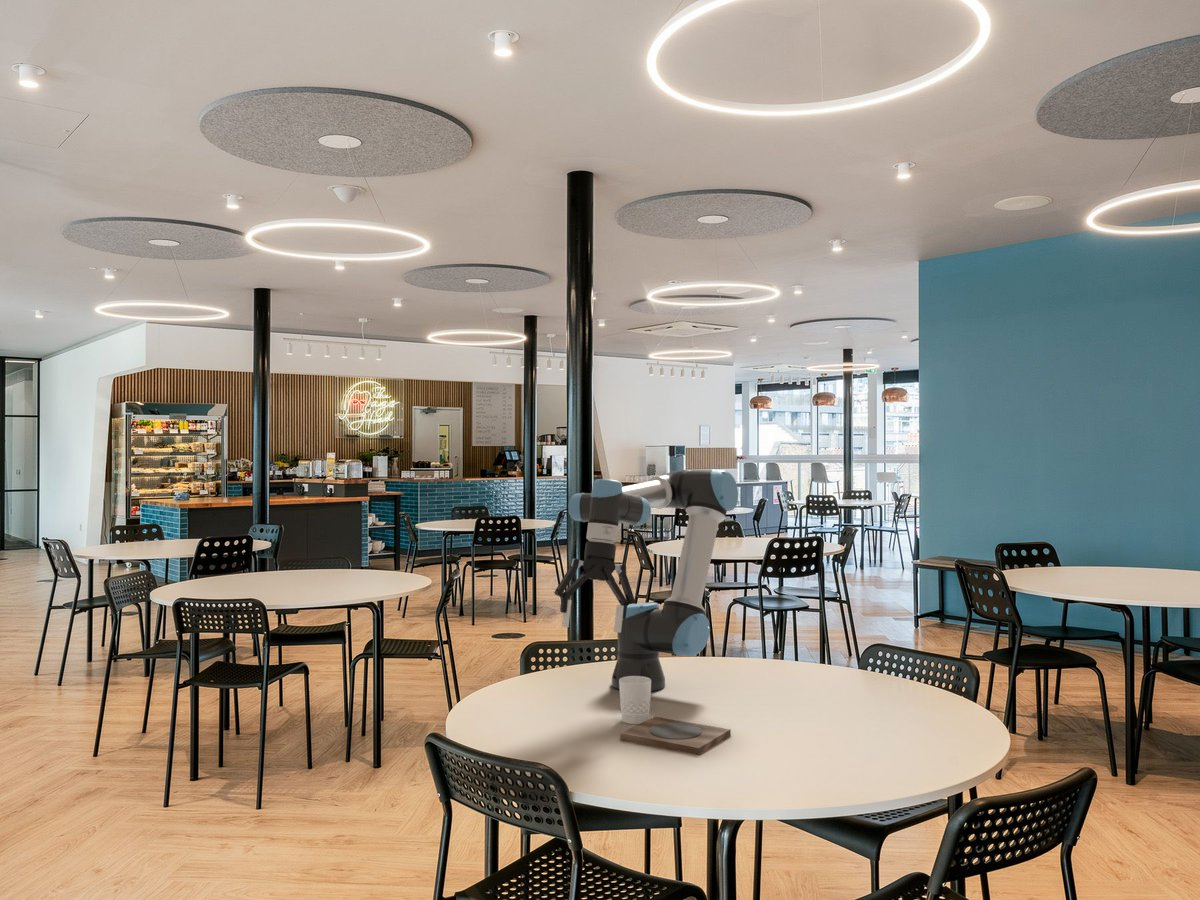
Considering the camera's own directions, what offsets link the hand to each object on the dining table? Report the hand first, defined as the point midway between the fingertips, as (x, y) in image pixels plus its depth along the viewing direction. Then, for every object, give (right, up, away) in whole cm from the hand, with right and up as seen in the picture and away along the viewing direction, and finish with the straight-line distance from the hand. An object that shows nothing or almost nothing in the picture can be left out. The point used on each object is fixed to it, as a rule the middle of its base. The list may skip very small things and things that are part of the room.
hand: (591, 629), depth 216 cm
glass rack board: (+19, -22, -11) cm, 32 cm away
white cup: (+11, -23, +3) cm, 25 cm away
